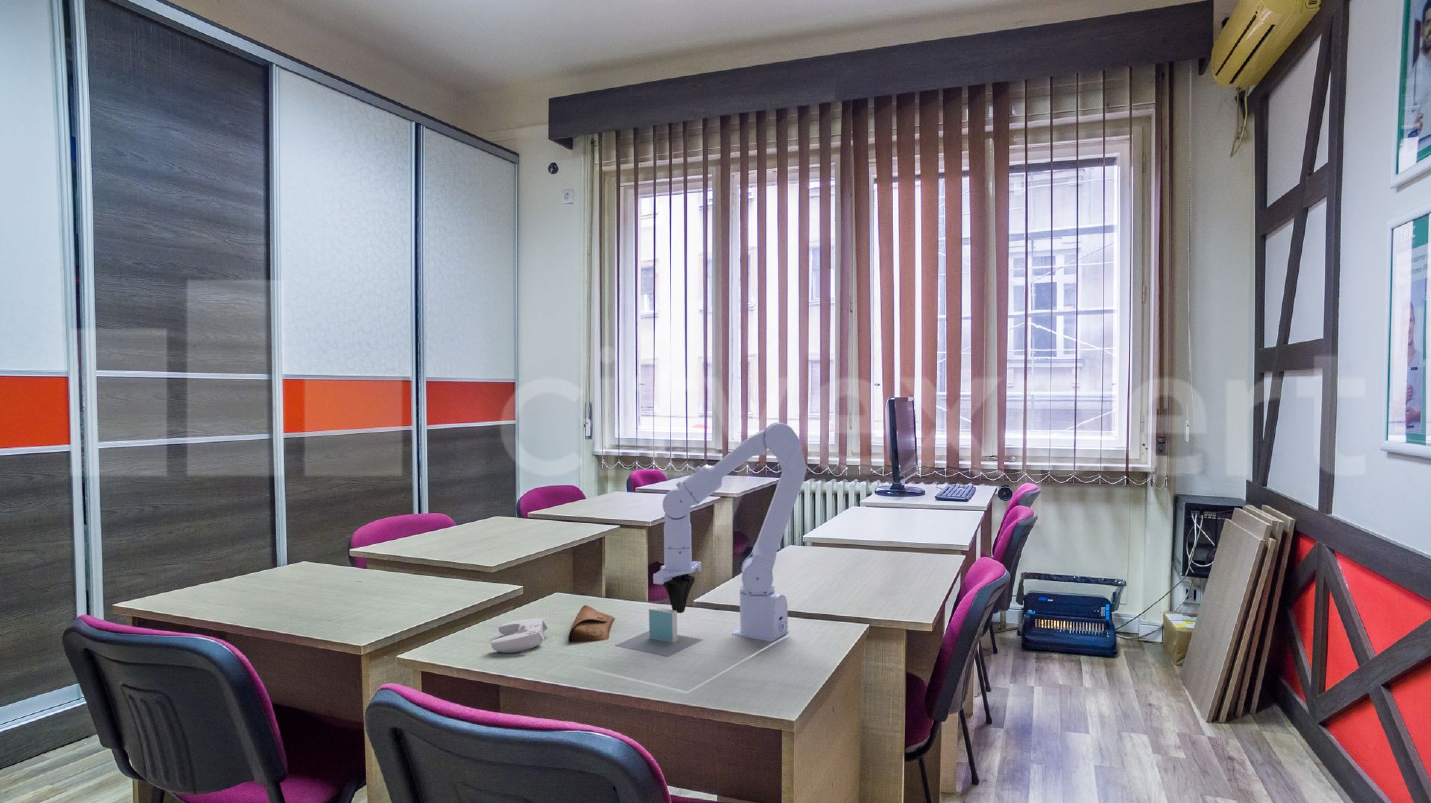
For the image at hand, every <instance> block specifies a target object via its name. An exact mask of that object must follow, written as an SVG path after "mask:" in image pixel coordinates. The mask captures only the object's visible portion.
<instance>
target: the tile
mask: <svg viewBox="0 0 1431 803" xmlns="http://www.w3.org/2000/svg"><path fill="white" fill-rule="evenodd" d="M648 631H649V638H652V639H657V640H662V641H667V642H672V643H674V642H676V641H677V635H678V613H677V611H675V610H672V609H667V608H663V607H662V608H660V607H655V606H651V607H649V608H648Z"/></svg>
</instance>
